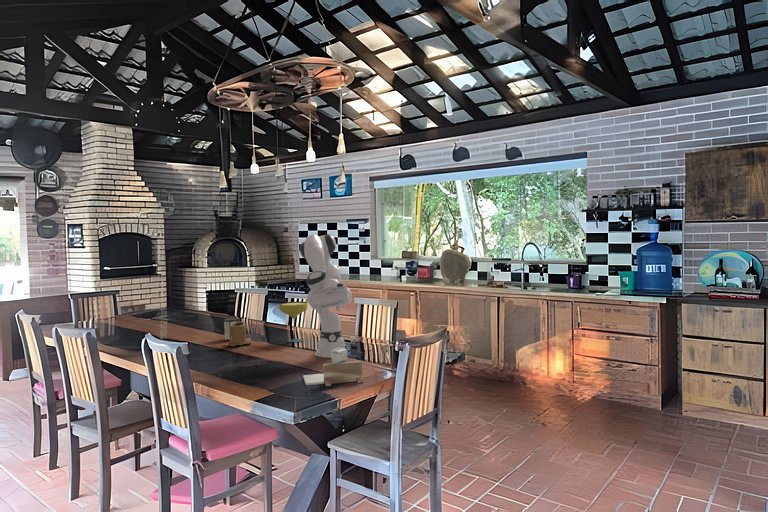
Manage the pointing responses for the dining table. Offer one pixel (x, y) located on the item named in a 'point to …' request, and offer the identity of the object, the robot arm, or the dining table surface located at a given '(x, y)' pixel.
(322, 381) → the display pad
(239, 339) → the stone cup
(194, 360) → the dining table surface
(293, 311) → the cocktail glass
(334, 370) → the birch screen
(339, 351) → the syrup box
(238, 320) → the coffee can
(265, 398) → the dining table surface
